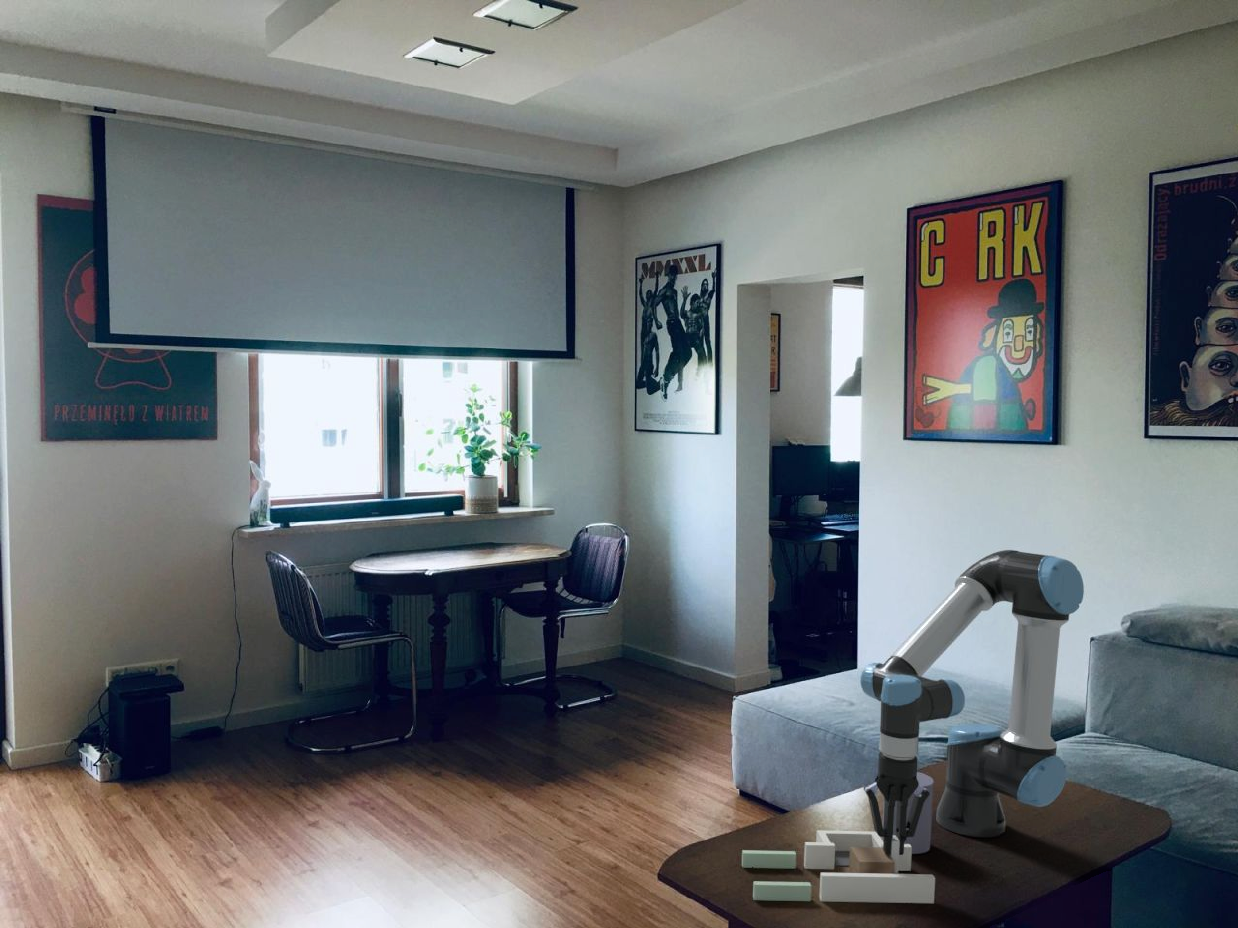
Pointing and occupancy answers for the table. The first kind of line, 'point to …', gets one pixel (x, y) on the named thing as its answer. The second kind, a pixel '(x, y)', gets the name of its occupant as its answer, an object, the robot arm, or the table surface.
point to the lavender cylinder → (923, 830)
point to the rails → (776, 889)
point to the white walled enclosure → (864, 886)
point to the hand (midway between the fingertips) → (892, 869)
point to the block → (870, 861)
